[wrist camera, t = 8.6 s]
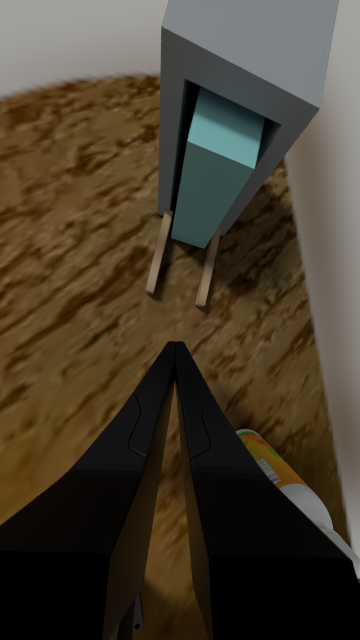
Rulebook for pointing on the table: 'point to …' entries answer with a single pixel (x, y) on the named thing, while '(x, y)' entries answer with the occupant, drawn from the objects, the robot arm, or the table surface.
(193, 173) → the slider
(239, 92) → the socket
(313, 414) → the table surface
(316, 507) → the supplement bottle
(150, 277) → the track
